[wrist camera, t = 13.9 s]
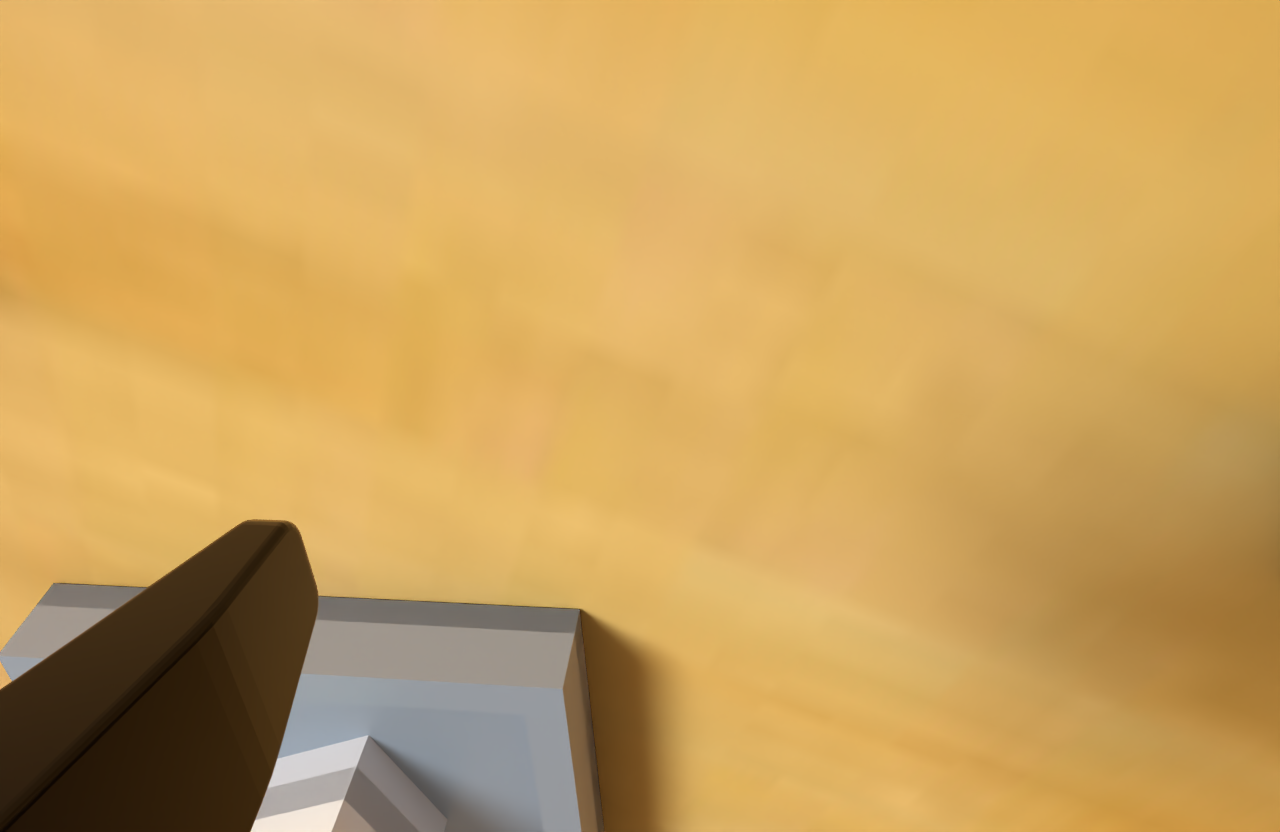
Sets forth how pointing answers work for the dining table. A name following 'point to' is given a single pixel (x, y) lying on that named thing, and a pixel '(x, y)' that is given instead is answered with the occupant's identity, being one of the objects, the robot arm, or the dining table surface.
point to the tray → (421, 698)
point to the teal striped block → (344, 793)
